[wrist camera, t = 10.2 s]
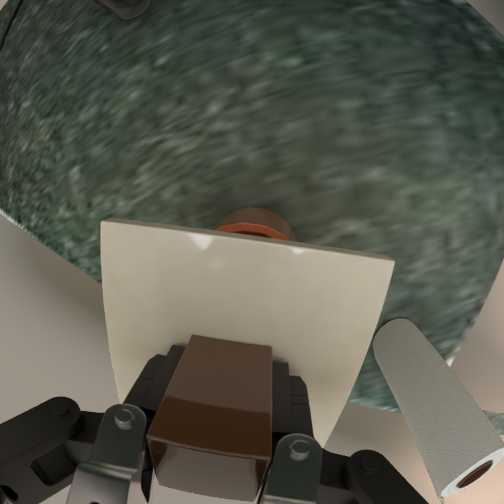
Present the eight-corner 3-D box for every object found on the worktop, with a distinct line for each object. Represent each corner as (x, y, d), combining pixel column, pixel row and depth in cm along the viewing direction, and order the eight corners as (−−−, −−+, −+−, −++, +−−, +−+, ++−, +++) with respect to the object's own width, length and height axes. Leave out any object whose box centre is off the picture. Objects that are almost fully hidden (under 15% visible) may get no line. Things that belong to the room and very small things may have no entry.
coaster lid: (110, 217, 10) (-5, 259, 4) (387, 254, 10) (483, 332, 4) (129, 410, 13) (88, 488, 7) (319, 440, 12) (331, 529, 7)
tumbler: (215, 201, 27) (186, 215, 17) (303, 213, 27) (322, 234, 17) (207, 283, 29) (180, 332, 20) (289, 295, 29) (297, 350, 20)
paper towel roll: (397, 307, 29) (501, 443, 8) (422, 332, 30) (512, 453, 9) (354, 350, 31) (414, 506, 10) (382, 371, 31) (442, 506, 11)
